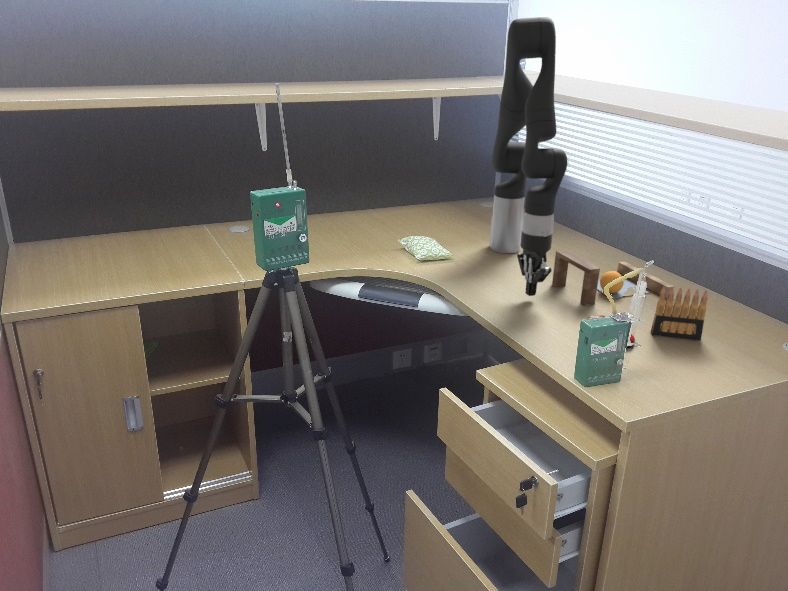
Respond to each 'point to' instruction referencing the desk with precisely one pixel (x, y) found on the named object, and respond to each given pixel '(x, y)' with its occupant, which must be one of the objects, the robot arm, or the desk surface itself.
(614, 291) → the ball
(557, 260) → the bridge
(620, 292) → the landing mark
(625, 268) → the stopper wall
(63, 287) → the desk surface
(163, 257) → the desk surface
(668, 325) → the ammunition clip
